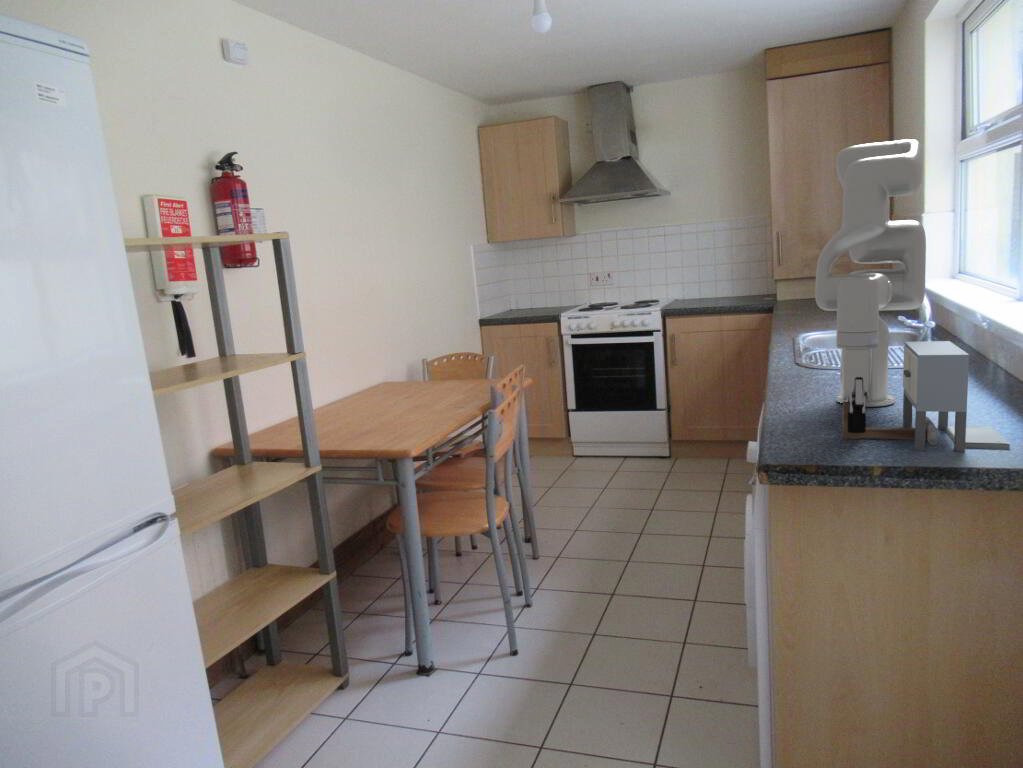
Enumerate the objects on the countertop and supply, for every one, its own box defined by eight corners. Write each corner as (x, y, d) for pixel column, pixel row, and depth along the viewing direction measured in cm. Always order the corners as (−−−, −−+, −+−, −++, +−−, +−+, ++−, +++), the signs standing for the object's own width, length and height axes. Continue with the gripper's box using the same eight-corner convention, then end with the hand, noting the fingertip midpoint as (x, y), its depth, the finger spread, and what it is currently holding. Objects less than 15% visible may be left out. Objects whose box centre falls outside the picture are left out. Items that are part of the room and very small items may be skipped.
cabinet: (897, 427, 156) (899, 341, 153) (946, 428, 153) (949, 341, 150) (909, 450, 140) (912, 355, 137) (964, 451, 137) (969, 354, 134)
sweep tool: (841, 430, 157) (841, 398, 155) (927, 432, 151) (928, 398, 150) (844, 443, 147) (845, 408, 146) (936, 445, 142) (938, 409, 141)
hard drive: (1010, 443, 137) (993, 426, 148) (958, 442, 139) (946, 425, 151) (1009, 452, 137) (993, 434, 148) (958, 450, 140) (945, 433, 151)
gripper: (833, 335, 156) (833, 420, 160) (839, 346, 141) (838, 440, 145) (873, 334, 154) (871, 421, 157) (883, 345, 139) (881, 441, 142)
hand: (855, 429), depth 151 cm, fingers closed on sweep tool, 3 cm apart
